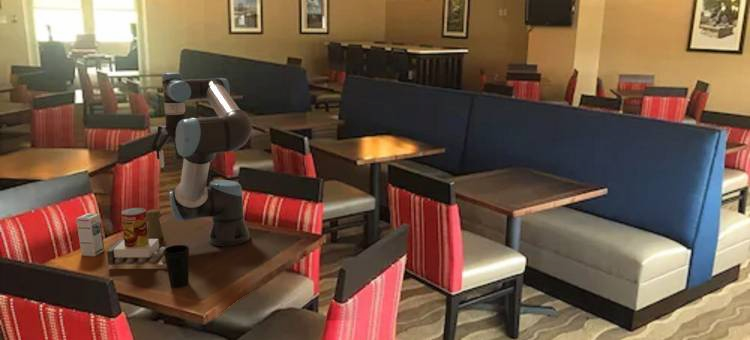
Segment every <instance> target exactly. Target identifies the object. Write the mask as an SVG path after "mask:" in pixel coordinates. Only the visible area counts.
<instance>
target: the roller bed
mask: <svg viewBox="0 0 750 340" xmlns="http://www.w3.org/2000/svg"><path fill="white" fill-rule="evenodd" d="M123 240H124V238H120V239H119V240H117V242H116V243H115V244H113V245H112V246H111V247H110V248H109V249H107V251H106V254H107V263H108V264H107V265H108V270H139V269H140V270H141V269H142V270H145V269H146V270H147V269H150V270H151V269H152V270H153V269H154V270H155V269H158V270H159V269H160V270H161V269H162V270H163V269H164V270H165V269H166V270H167V265H166V260H165V255H164V249H166V248H167V247H165V246H161V247H160V248H159V249H158V251H155V252H154V253H153V254H152V255H151V256H150V257H117V258H114V250H113V249H114V248H115V247H117V246H118V245H119V244H120V243H121V242H122V241H123Z"/></svg>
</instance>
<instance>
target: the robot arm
mask: <svg viewBox="0 0 750 340" xmlns="http://www.w3.org/2000/svg"><path fill="white" fill-rule="evenodd" d="M183 77H184V76H183V74H182V73H181V72H164V73H163V74H161V79H162V80H161V84H162V90H163V91H162V93H163V105H164V113H165V125H164V126H163V125H158V126H157V132H156V134H155V135H156V136H155V137H154V140H153V143H152V145H151V147H150V149H151V150H153V151H156V158H157V160H159V167H160V169H163V168H164V167H165V158H164V155H165V153H164V149H163V147H164V146H165V145H166V144H167V142H168V141H169V140H170V138H175V140H174V141H175V147H176V148H175V149H176V150H177V151H176V152H177V154H178V155H179V156H181V157H182V158H183V162H182V168H181V177H180V183H178V184H177V185H176V187H175V189H173V190H170V191H168V196H169V201H170V206H171V211H172V215H173V216H172V217H173V219H174V220H175V221H176V222H186V221H192V220H198V219H204V218H205V219H206V218H211V217H212V218H211V219H212V224H211V227H210V231H209V234H208V235H209V236H208V240H209V244H211V245H213V246H217V247H233V246H238V245H242V244H245V243H247V242H248V241H249V240H250V233H249V229H248V227H247V224H246V221H245V219H244V218H245V217H244V205H243V202H244V201H243V196H244V194H243V191H242V190H243V188H242V185H241V184H240V183H239V182H237V181H234V180H227V179H214V180H211V181H210V182H209V185H208V186H206V185H207V180H208V175H209V172H210V171H209V170H210V165H211V162H212V161H214V159H215V158H216V156H217V154H219V153H229V152H235V151H237V150H239V149H241V148H242V147H243V146H245V145H246V143H247V142H248V141H249V139H251V138H250V137H251V135H252V133H253V132H252V131H253V123H252V120H251V118H250V117H249V115H248V114H247V113H246V112H245V111H244V110H241V109H240V108H239V106H238V105H237V103H236V102H235V101H234V99H233V98H232V96H231V95H230V92H231V89H230V88H231V87H230V84H229V81H228V79H227V78H224V77H214V78H213V77H212V78H200V79H199V78H197V79H196V78H195V79H194V78H193V79H184V78H183ZM196 100H207V101H208V102H209V104H210V106H211V107H212V109H213V110H214V111H215V113H216V115H217V116H210V117H209V116H208V117H196V118H195V117H190V118H187V114H186V113H185V112H186V103H185V102H186V101H196ZM164 131H165V132H167V134H166V135H165V137H164V138H163V139H162V141H161V142H160V139H161V137H162V134H163V133H164ZM159 142H160V143H159ZM158 144H159V145H158ZM162 149H163V150H162Z"/></svg>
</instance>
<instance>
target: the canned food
mask: <svg viewBox="0 0 750 340" xmlns="http://www.w3.org/2000/svg"><path fill="white" fill-rule="evenodd" d="M146 213H147V211H146V209H145V208H144V207H131V208H130V207H129V208H126V209H123V210H122V211H121V213H120V214H121V223H122V224H121V225H122V231H123V234H122V235H123V239H124V243H125V246H126V247H128V248H138V247H142V246H145V245H147V244H148V243H149V239H148V219H147V217H146Z"/></svg>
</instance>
